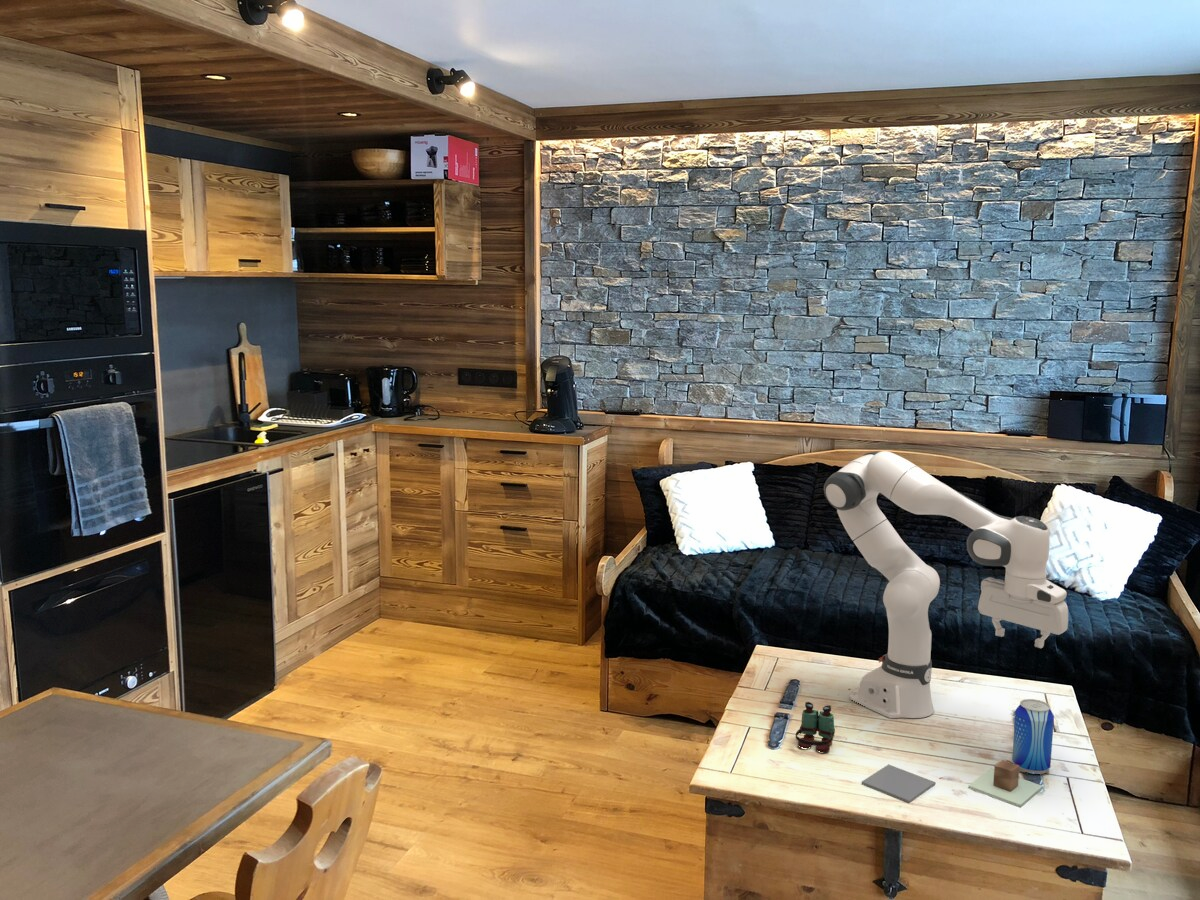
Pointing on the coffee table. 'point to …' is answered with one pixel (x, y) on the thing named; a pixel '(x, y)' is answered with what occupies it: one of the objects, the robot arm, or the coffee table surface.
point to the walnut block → (1006, 775)
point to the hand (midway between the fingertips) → (1019, 641)
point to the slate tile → (898, 783)
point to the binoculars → (816, 727)
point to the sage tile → (1014, 797)
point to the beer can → (1033, 736)
